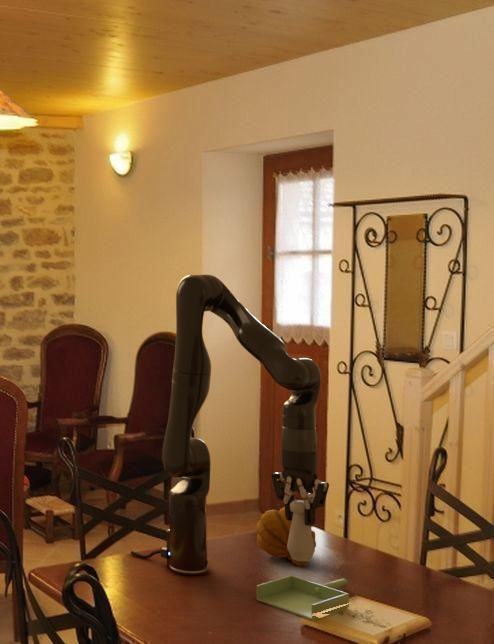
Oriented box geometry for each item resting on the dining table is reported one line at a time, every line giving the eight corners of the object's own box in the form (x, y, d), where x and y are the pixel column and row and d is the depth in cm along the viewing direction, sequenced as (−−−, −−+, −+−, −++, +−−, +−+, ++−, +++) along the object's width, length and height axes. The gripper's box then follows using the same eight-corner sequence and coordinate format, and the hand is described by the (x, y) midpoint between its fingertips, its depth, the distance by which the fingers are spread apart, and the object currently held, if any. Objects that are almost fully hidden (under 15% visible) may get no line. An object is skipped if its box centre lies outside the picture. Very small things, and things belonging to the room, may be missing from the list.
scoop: (313, 620, 192) (313, 605, 192) (256, 600, 205) (256, 585, 205) (375, 599, 204) (375, 584, 204) (318, 581, 217) (317, 567, 217)
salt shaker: (317, 563, 198) (316, 505, 198) (290, 562, 199) (288, 504, 199) (311, 555, 204) (310, 498, 204) (285, 554, 205) (284, 497, 205)
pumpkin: (255, 572, 229) (249, 529, 248) (321, 584, 226) (309, 538, 245) (264, 526, 225) (256, 485, 244) (331, 537, 222) (318, 495, 240)
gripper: (262, 444, 206) (263, 518, 206) (316, 454, 194) (317, 532, 194) (283, 440, 210) (284, 513, 210) (337, 450, 198) (338, 527, 198)
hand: (300, 522), depth 202 cm, fingers closed on salt shaker, 4 cm apart
